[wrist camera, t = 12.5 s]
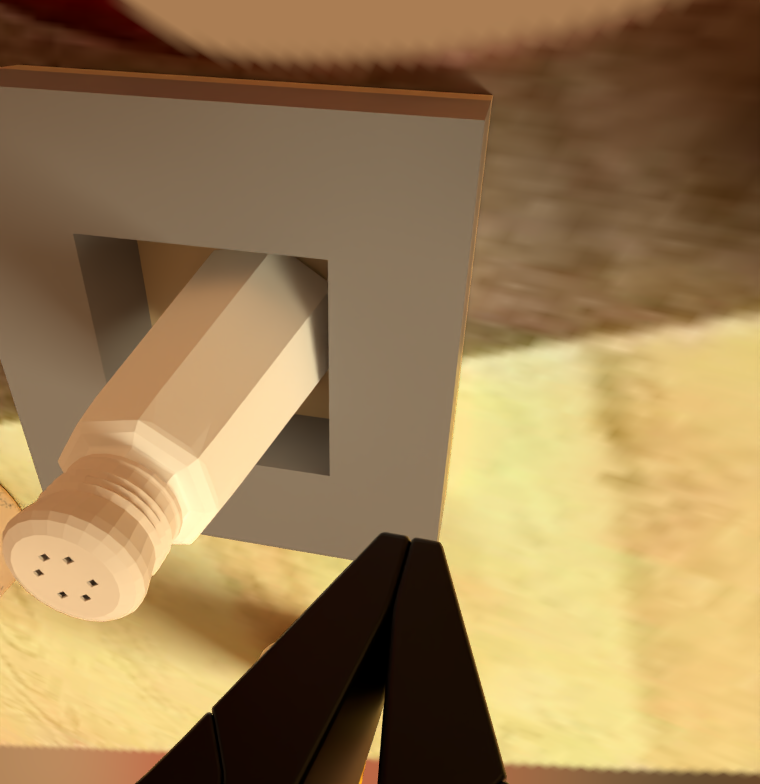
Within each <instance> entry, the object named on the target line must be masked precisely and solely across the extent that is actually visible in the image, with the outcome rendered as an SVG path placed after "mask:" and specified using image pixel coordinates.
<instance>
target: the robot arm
mask: <svg viewBox="0 0 760 784" xmlns="http://www.w3.org/2000/svg"><path fill="white" fill-rule="evenodd" d="M383 705H384V709H383ZM382 709H383V722H382V734H381V747H380V759H379V773H378V784H509V783H508V782H506V778H507V775H506V772H505V768H504V764H503V761H502V757H501V754H500V750H499V747H498V743H497V739H496V736H495V732H494V729H493V725H492V721H491V718H490V714H489V711H488V707H487V703H486V700H485V696H484V693H483V689H482V686H481V682H480V678H479V675H478V671H477V668H476V664H475V660H474V657H473V653H472V650H471V646H470V642H469V639H468V635H467V632H466V628H465V625H464V621H463V617H462V614H461V610H460V607H459V603H458V599H457V596H456V592H455V589H454V585H453V582H452V578H451V574H450V571H449V567H448V564H447V560H446V556H445V553H444V549H443V546H442V544H441V543H440V542H438V541H434V540H428V539H423V538H413V539H412V540H410V538H409V537H408V536H406V535H400V534H394V533H389V532H382V533H380V534H379V535H378V536H377V537H376V538H375V539H374V540H373V541H372V542H371V543H370V544H369V545H368V546H367V547H366V548H365V549H364V550H363V551H362V552H361V553H360V554H359V555H358V556H357V558H356V559H355V560H354V561H353V562H352V563H351V564H350V565H349V566H348V567H347V568H346V569H345V570H344V571H343V572H342V573H341V574H340V575H339V576H338V577H337V578H336V579H335V580H334V581H333V582H332V584H331V585H330V586H329V587H328V588H327V589H326V590H325V591H324V592H323V593H322V594H321V595H320V596H319V597H318V598H317V599H316V600H315V601H314V602H313V603H312V604H311V605H310V606H309V607H308V608H307V610H306V611H305V612H304V613H303V614H302V615H301V616H300V617H299V618H298V619H297V620H296V621H295V622H294V623H293V624H292V625H291V626H290V627H289V628H288V629H287V630H286V631H285V632H284V633H283V634H282V635H281V637H280V638H279V639H278V640H277V641H276V642H275V643H274V644H273V645H272V646H271V647H270V648H269V649H268V650H267V651H266V652H265V653H264V654H263V655H262V656H261V657H260V658H259V659H258V660H257V661H256V663H255V664H254V665H253V666H252V667H251V668H250V669H249V670H248V671H247V672H246V673H245V674H244V675H243V676H242V677H241V678H240V679H239V680H238V681H237V682H236V683H235V684H234V685H233V686H232V687H231V689H230V690H229V691H228V692H227V693H226V694H225V695H224V696H223V697H222V698H221V699H220V700H219V701H218V702H217V703H216V704H215V705H214V706H213V708H212V713H210V712H208V713H206V714H205V715H204V716H203V717H202V718H201V719H200V720H199V721H198V722H197V723H196V725H195V726H194V727H193V728H192V729H191V730H190V731H189V732H188V733H187V734H186V735H185V736H184V737H183V738H182V739H181V740H180V741H179V742H178V743H177V744H176V745H175V746H174V747H173V748H172V749H171V750H170V751H169V752H168V753H167V754H166V755H165V756H164V757H163V758H162V759H161V760H160V761H159V762H158V763H157V764H156V765H155V766H154V767H153V768H152V769H151V770H150V771H149V772H148V773H146V774H145V775H144V776H143V777H142V778H141V779H140V780H139V781H137V782H136V783H135V784H359V782H360V778H361V775H362V772H363V769H364V766H365V763H366V760H367V756H368V753H369V750H370V747H371V744H372V741H373V738H374V734H375V731H376V728H377V725H378V722H379V719H380V716H381V712H382ZM212 714H213V715H212Z"/></svg>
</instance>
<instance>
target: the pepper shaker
mask: <svg viewBox="0 0 760 784" xmlns="http://www.w3.org/2000/svg"><path fill="white" fill-rule="evenodd" d="M328 369H329V334H328V281H326V280H325V279H324V278H322V277H321V276H320V275H318V274H317V273H315V272H314V271H313V270H311V269H310V268H309V267H307V266H306V265H305V264H303V263H302V262H301V261H299V260H298V259H297V258H295V257H294V256H286V255H276V254H266V253H257V252H247V251H238V250H228V249H223V250H214V251H213V252H212V253H211V255H210V256H209V257H208V258H207V260H206V261H205V262H204V263H203V264H202V266H201V267H200V268H199V269H198V271H197V272H196V273H195V274H194V276H193V277H192V278H191V279H190V281H189V282H188V283H187V284H186V286H185V287H184V288H183V289H182V291H181V292H180V293H179V294H178V296H177V297H176V298H175V299H174V301H173V302H172V303H171V304H170V306H169V307H168V308H167V309H166V311H165V312H164V313H163V314H162V316H161V317H160V318H159V319H158V321H157V322H156V323H155V324H154V325H153V327H152V328H151V329H150V330H149V332H148V333H147V334H146V335H145V337H144V338H143V339H142V340H141V342H140V343H139V344H138V345H137V347H136V348H135V349H134V350H133V352H132V353H131V354H130V355H129V357H128V358H127V359H126V360H125V362H124V363H123V364H122V365H121V367H120V368H119V369H118V370H117V372H116V373H115V374H114V375H113V377H112V378H111V379H110V380H109V381H108V383H107V384H106V385H105V386H104V388H103V389H102V390H101V391H100V393H99V394H98V395H97V396H96V398H95V399H94V400H93V402H92V403H91V405H90V406H89V408H88V409H87V410H86V412H85V413H84V415H83V416H82V418H81V419H80V421H79V422H78V423H77V425H76V427H75V429H74V431H73V432H72V434H71V436H70V438H69V440H68V442H67V444H66V446H65V447H64V449H63V451H62V453H61V455H60V457H59V459H58V463H59V465H60V467H61V469H62V471H63V474H61V475H60V476H59V477H58V478H56V479H55V480H54V481H53V483H52V484H50V485H49V486H48V487H47V489H46V490H45V491H43V492H42V493H41V494H40V496H39V498H38V500H37V501H36V502H35V503H33V504H31V505H29V506H28V507H26V508H24V509H23V510H22V511H21V512H19V513H18V514H17V515H15V516H14V517H13V518H12V519H11V520H10V521H9V522H8V523H7V525H6V527H5V529H4V531H3V538H2V553H3V556H4V559H5V562H6V565H7V567H8V568H9V570H10V571H11V573H12V575H13V576H14V578H15V579H16V580H17V581H18V582H19V583H20V584H21V585H22V586H23V587H24V589H25V590H26V591H28V592H29V593H30V594H32V595H33V596H34V597H35V598H37V599H38V600H39V601H41V602H42V603H44V604H46V605H47V606H49V607H51V608H53V609H54V610H56V611H59V612H61V613H64V614H66V615H69V616H71V617H75V618H79V619H83V620H88V621H103V622H104V621H109V620H115V619H119V618H122V617H125V616H126V615H128V614H130V613H132V612H134V611H135V610H136V609H137V608H138V607H139V605H140V604H141V603H142V602H143V600H144V598H145V596H146V594H147V591H148V587H149V584H150V580H151V576H153V575H154V574H155V573H156V572H157V571H158V569H159V568H160V567H161V564H162V562H163V561H164V560H165V558H166V556H167V555H168V553H169V552H170V548H171V545H172V544H192V543H193V541H194V540H195V539H196V538H197V537H198V536H199V535H200V534H201V533H202V531H203V530H204V529H205V528H206V527H207V525H208V524H209V523H210V522H211V520H212V519H213V518H214V517H215V516H216V514H217V513H218V512H219V510H220V509H221V508H222V507H223V506H224V504H225V503H226V502H227V501H228V499H229V498H230V497H231V496H232V494H233V493H234V492H235V491H236V489H237V488H238V487H239V486H240V484H241V483H242V482H243V480H244V479H245V478H246V476H247V475H248V474H249V472H250V471H251V470H252V469H253V467H254V466H255V465H256V463H257V462H258V461H259V459H260V458H261V457H262V455H263V454H264V453H265V451H266V450H267V449H268V448H269V446H270V445H271V444H272V442H273V441H274V440H275V438H276V437H277V436H278V434H279V433H280V432H281V431H282V429H283V428H284V427H285V425H286V424H287V423H288V421H289V420H290V419H291V417H292V416H293V415H294V414H295V412H296V411H297V410H298V408H299V407H300V406H301V404H302V403H303V402H304V400H305V399H306V398H307V397H308V395H309V394H310V393H311V391H312V390H313V389H314V387H315V386H316V385H317V383H318V382H319V381H320V380H321V378H322V377H323V376H324V374H325V373H326V372H327V370H328Z"/></svg>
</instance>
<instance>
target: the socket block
mask: <svg viewBox="0 0 760 784" xmlns="http://www.w3.org/2000/svg"><path fill="white" fill-rule="evenodd" d="M492 99H493V95H482V94H467V93H451V92H435V91H420V90H404V89H389V88H373V87H357V86H342V85H326V84H311V83H295V82H280V81H264V80H248V79H233V78H217V77H202V76H186V75H170V74H155V73H139V72H124V71H108V70H93V69H77V68H61V67H46V66H30V65H13V66H6V67H0V360H1V363H2V366H3V369H4V372H5V375H6V378H7V381H8V384H9V388H10V391H11V394H12V397H13V400H14V403H15V406H16V409H17V412H18V416H19V419H20V422H21V425H22V428H23V431H24V434H25V437H26V440H27V444H28V447H29V450H30V453H31V456H32V459H33V462H34V465H35V469H36V472H37V475H38V478H39V481H40V484H41V487H42V490H43V491H45V490H46V489H47V487H48V486H49V485H50V484H52V483H53V481H54V480H55V479H56V478H58V477H59V476H60V475H61V474H63V471H62V469H61V467H60V465H59V463H58V459H59V457H60V455H61V453H62V451H63V449H64V447H65V446H66V444H67V442H68V440H69V438H70V436H71V434H72V432H73V431H74V429H75V427H76V425H77V423H78V422H79V421H80V419H81V418H82V416H83V415H84V413H85V412H86V410H87V409H88V408H89V406H90V405H91V403H92V402H93V400H94V399H95V398H96V396H97V395H98V394H99V393H100V391H101V390H102V389H103V388H104V386H105V385H106V384H107V383H108V381H109V380H110V379H111V378H112V377H113V375H114V374H115V373H116V372H117V370H118V369H119V368H120V367H121V365H122V364H123V363H124V362H125V360H126V359H127V358H128V357H129V355H130V354H131V353H132V352H133V350H134V349H135V348H136V347H137V345H138V344H139V343H140V342H141V340H142V339H143V338H144V337H145V335H146V334H147V333H148V332H149V330H150V329H151V328H152V327H153V325H154V324H155V323H156V322H157V321H158V319H159V318H160V317H161V316H162V314H163V313H164V312H165V311H166V309H167V308H168V307H169V306H170V304H171V303H172V302H173V301H174V299H175V298H176V297H177V296H178V294H179V293H180V292H181V291H182V289H183V288H184V287H185V286H186V284H187V283H188V282H189V281H190V279H191V278H192V277H193V276H194V274H195V273H196V272H197V271H198V269H199V268H200V267H201V266H202V264H203V263H204V262H205V261H206V260H207V258H208V257H209V256H210V255H211V253H212V252H213V251H214V250H223V249H228V250H238V251H247V252H257V253H266V254H276V255H286V256H294V257H295V258H297V259H298V260H299V261H301V262H302V263H303V264H305V265H306V266H307V267H309V268H310V269H311V270H313V271H314V272H315V273H317V274H318V275H320V276H321V277H322V278H324V279H325V280H326V281H328V334H329V369H328V370H327V372H326V373H325V374H324V376H323V377H322V378H321V380H320V381H319V382H318V383H317V385H316V386H315V387H314V389H313V390H312V391H311V393H310V394H309V395H308V397H307V398H306V399H305V400H304V402H303V403H302V404H301V406H300V407H299V408H298V410H297V411H296V412H295V414H294V415H293V416H292V417H291V419H290V420H289V421H288V423H287V424H286V425H285V427H284V428H283V429H282V431H281V432H280V433H279V434H278V436H277V437H276V438H275V440H274V441H273V442H272V444H271V445H270V446H269V448H268V449H267V450H266V451H265V453H264V454H263V455H262V457H261V458H260V459H259V461H258V462H257V463H256V465H255V466H254V467H253V469H252V470H251V471H250V472H249V474H248V475H247V476H246V478H245V479H244V480H243V482H242V483H241V484H240V486H239V487H238V488H237V489H236V491H235V492H234V493H233V494H232V496H231V497H230V498H229V499H228V501H227V502H226V503H225V504H224V506H223V507H222V508H221V509H220V510H219V512H218V513H217V514H216V516H215V517H214V518H213V519H212V520H211V522H210V523H209V524H208V525H207V527H206V528H205V529H204V530H203V531H202V533H201V534H202V535H208V536H214V537H220V538H226V539H232V540H238V541H243V542H249V543H255V544H261V545H267V546H273V547H278V548H284V549H290V550H296V551H302V552H308V553H314V554H319V555H325V556H331V557H337V558H343V559H349V560H355V559H356V558H357V556H358V555H359V554H360V553H361V552H362V551H363V550H364V549H365V548H366V547H367V546H368V545H369V544H370V543H371V542H372V541H373V540H374V539H375V538H376V537H377V536H378V535H379V534H380V533H382V532H389V533H394V534H400V535H406V536H408V537H409V538H410V540H412V539H413V538H423V539H428V540H434V541H439V535H440V529H441V523H442V516H443V510H444V504H445V497H446V490H447V481H448V473H449V464H450V456H451V447H452V439H453V430H454V422H455V413H456V405H457V396H458V388H459V379H460V371H461V362H462V354H463V345H464V337H465V328H466V320H467V311H468V303H469V294H470V286H471V277H472V269H473V260H474V252H475V243H476V235H477V226H478V218H479V209H480V201H481V192H482V184H483V175H484V167H485V158H486V150H487V141H488V133H489V124H490V116H491V107H492Z"/></svg>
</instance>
